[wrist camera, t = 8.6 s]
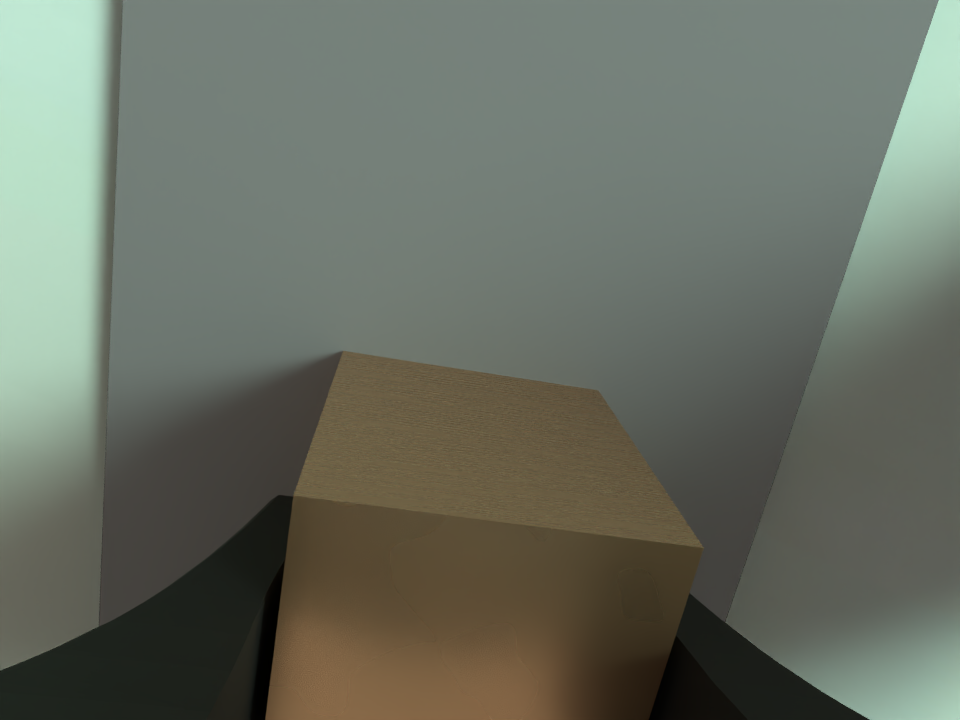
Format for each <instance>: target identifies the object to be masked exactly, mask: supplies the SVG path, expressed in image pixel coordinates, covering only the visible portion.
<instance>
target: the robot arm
mask: <svg viewBox="0 0 960 720" xmlns="http://www.w3.org/2000/svg"><path fill="white" fill-rule="evenodd" d="M292 503H293V497H292V496H285V495H278V496H276V497H275V498H273V499H272V500H270V501H269V502H268V503H267V504H266V505H265V506H264V507H263V508H262V509H261V510H260V511H259V512H258V513H257V514H256V515H255V516H254V517H253V518H252V519H251V520H250V521H249V522H248V523H247V524H246V525H244V526H243V527H242V528H241V529H240V530H239V531H238V532H237V533H236V534H234V535H233V536H232V537H231V538H230V539H228V540H227V541H226V542H225V543H224V544H223V545H221V546H220V547H219V548H218V549H217V550H215V551H214V552H213V553H212V554H211V555H209V556H208V557H207V558H206V559H204V560H203V561H202V562H200V563H199V564H198V565H196V566H195V567H194V568H192V569H191V570H190V571H188V572H187V573H185V574H184V575H183V576H181V577H180V578H179V579H177V580H176V581H175V582H173V583H172V584H171V585H169V586H168V587H166V588H165V589H163V590H162V591H160V592H159V593H157V594H156V595H154V596H153V597H151V598H150V599H148V600H146V601H145V602H143V603H141V604H140V605H138V606H136V607H135V608H133V609H131V610H130V611H128V612H126V613H124V614H123V615H121V616H119V617H117V618H115V619H114V620H112V621H110V622H108V623H106V624H103V625H101V626H99V627H97V628H95V629H93V630H91V631H89V632H87V633H85V634H83V635H81V636H79V637H77V638H75V639H73V640H71V641H69V642H67V643H65V644H63V645H61V646H59V647H57V648H54V649H52V650H50V651H48V652H45V653H43V654H40V655H38V656H36V657H33V658H31V659H28V660H26V661H24V662H21V663H19V664H16V665H14V666H11V667H9V668H6V669H3V670H1V671H0V720H265V718H266V710H267V702H268V694H269V686H270V678H271V670H272V662H273V654H274V646H275V638H276V630H277V622H278V614H279V606H280V598H281V590H282V582H283V574H284V566H285V558H286V551H287V543H288V535H289V527H290V519H291V511H292ZM649 720H869V719H867V718H866V717H864V716H862V715H860V714H859V713H857V712H855V711H853V710H852V709H850V708H848V707H846V706H845V705H843V704H841V703H839V702H838V701H836V700H835V699H833V698H831V697H830V696H828V695H826V694H825V693H823V692H821V691H820V690H818V689H817V688H815V687H814V686H812V685H811V684H809V683H808V682H806V681H805V680H803V679H802V678H800V677H799V676H797V675H796V674H794V673H793V672H791V671H790V670H788V669H787V668H785V667H784V666H782V665H781V664H779V663H778V662H776V661H775V660H774V659H772V658H771V657H769V656H768V655H767V654H765V653H764V652H762V651H761V650H760V649H758V648H757V647H756V646H754V645H753V644H752V643H751V642H749V641H748V640H747V639H745V638H744V637H743V636H742V635H740V634H739V633H738V632H736V631H735V630H734V629H732V628H731V627H730V626H729V625H727V624H726V623H725V622H724V621H722V620H721V619H720V618H719V617H718V616H716V615H715V614H714V613H713V612H711V611H710V610H709V609H708V608H707V607H705V606H704V605H703V604H702V603H701V602H700V601H698V600H697V599H696V598H695V597H694V596H693V595H691V594H690V593H689V596H688V599H687V602H686V605H685V608H684V611H683V614H682V618H681V621H680V624H679V627H678V630H677V633H676V636H675V639H674V642H673V645H672V649H671V652H670V655H669V658H668V661H667V664H666V667H665V670H664V673H663V677H662V680H661V683H660V686H659V689H658V692H657V695H656V698H655V701H654V705H653V708H652V711H651V714H650V717H649Z"/></svg>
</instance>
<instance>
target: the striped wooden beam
mask: <svg viewBox="0 0 960 720" xmlns="http://www.w3.org/2000/svg"><path fill="white" fill-rule="evenodd" d="M703 549H704V547H703V546H702V544H701V543H700V541H699V540H698V538H697V537H696V535H695V534H694V532H693V531H692V529H691V528H690V526H689V525H688V523H687V522H686V520H685V519H684V517H683V516H682V514H681V513H680V512H679V510H678V509H677V507H676V506H675V504H674V503H673V501H672V500H671V498H670V497H669V495H668V494H667V492H666V491H665V489H664V488H663V486H662V485H661V483H660V482H659V480H658V479H657V477H656V476H655V474H654V473H653V471H652V470H651V468H650V467H649V465H648V464H647V462H646V461H645V459H644V458H643V456H642V455H641V453H640V452H639V450H638V449H637V447H636V446H635V444H634V443H633V441H632V440H631V438H630V437H629V435H628V434H627V432H626V431H625V429H624V428H623V426H622V425H621V423H620V422H619V420H618V419H617V417H616V416H615V414H614V413H613V411H612V410H611V408H610V407H609V405H608V404H607V402H606V401H605V399H604V398H603V396H602V395H601V393H600V392H599V390H593V389H586V388H580V387H573V386H567V385H560V384H554V383H548V382H541V381H535V380H528V379H522V378H515V377H509V376H502V375H496V374H489V373H483V372H477V371H470V370H464V369H457V368H451V367H444V366H438V365H431V364H425V363H418V362H412V361H406V360H399V359H393V358H386V357H380V356H373V355H367V354H360V353H354V352H347V351H343V352H342V355H341V358H340V361H339V364H338V367H337V370H336V373H335V376H334V379H333V382H332V384H331V387H330V390H329V393H328V396H327V399H326V402H325V405H324V408H323V411H322V414H321V417H320V419H319V422H318V425H317V428H316V431H315V434H314V437H313V440H312V443H311V446H310V449H309V452H308V454H307V457H306V460H305V463H304V466H303V469H302V472H301V475H300V478H299V481H298V484H297V487H296V489H295V492H294V495H293V503H292V511H291V519H290V527H289V535H288V543H287V551H286V558H285V566H284V574H283V582H282V590H281V598H280V606H279V614H278V622H277V630H276V638H275V646H274V654H273V662H272V670H271V678H270V686H269V694H268V702H267V710H266V718H265V720H649V717H650V714H651V711H652V708H653V705H654V701H655V698H656V695H657V692H658V689H659V686H660V683H661V680H662V677H663V673H664V670H665V667H666V664H667V661H668V658H669V655H670V652H671V649H672V645H673V642H674V639H675V636H676V633H677V630H678V627H679V624H680V621H681V618H682V614H683V611H684V608H685V605H686V602H687V599H688V596H689V593H690V590H691V586H692V583H693V580H694V577H695V574H696V571H697V568H698V565H699V562H700V558H701V555H702V552H703Z"/></svg>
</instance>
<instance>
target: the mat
mask: <svg viewBox="0 0 960 720" xmlns="http://www.w3.org/2000/svg"><path fill="white" fill-rule="evenodd" d="M937 3H938V0H123V9H122V35H121V61H120V87H119V113H118V140H117V166H116V192H115V218H114V244H113V271H112V297H111V323H110V349H109V375H108V402H107V428H106V454H105V480H104V507H103V533H102V559H101V585H100V611H99V626H101V625H103V624H106V623H108V622H110V621H112V620H114V619H115V618H117V617H119V616H121V615H123V614H124V613H126V612H128V611H130V610H131V609H133V608H135V607H136V606H138V605H140V604H141V603H143V602H145V601H146V600H148V599H150V598H151V597H153V596H154V595H156V594H157V593H159V592H160V591H162V590H163V589H165V588H166V587H168V586H169V585H171V584H172V583H173V582H175V581H176V580H177V579H179V578H180V577H181V576H183V575H184V574H185V573H187V572H188V571H190V570H191V569H192V568H194V567H195V566H196V565H198V564H199V563H200V562H202V561H203V560H204V559H206V558H207V557H208V556H209V555H211V554H212V553H213V552H214V551H215V550H217V549H218V548H219V547H220V546H221V545H223V544H224V543H225V542H226V541H227V540H228V539H230V538H231V537H232V536H233V535H234V534H236V533H237V532H238V531H239V530H240V529H241V528H242V527H243V526H244V525H246V524H247V523H248V522H249V521H250V520H251V519H252V518H253V517H254V516H255V515H256V514H257V513H258V512H259V511H260V510H261V509H262V508H263V507H264V506H265V505H266V504H267V503H268V502H269V501H270V500H272V499H273V498H275V497H276V496H278V495H285V496H292V497H293V495H294V492H295V489H296V487H297V484H298V481H299V478H300V475H301V472H302V469H303V466H304V463H305V460H306V457H307V454H308V452H309V449H310V446H311V443H312V440H313V437H314V434H315V431H316V428H317V425H318V422H319V419H320V417H321V414H322V411H323V408H324V405H325V402H326V399H327V396H328V393H329V390H330V387H331V384H332V382H333V379H334V376H335V373H336V370H337V367H338V364H339V361H340V358H341V355H342V352H343V351H347V352H354V353H360V354H367V355H373V356H380V357H386V358H393V359H399V360H406V361H412V362H418V363H425V364H431V365H438V366H444V367H451V368H457V369H464V370H470V371H477V372H483V373H489V374H496V375H502V376H509V377H515V378H522V379H528V380H535V381H541V382H548V383H554V384H560V385H567V386H573V387H580V388H586V389H593V390H599V392H600V393H601V395H602V396H603V398H604V399H605V401H606V402H607V404H608V405H609V407H610V408H611V410H612V411H613V413H614V414H615V416H616V417H617V419H618V420H619V422H620V423H621V425H622V426H623V428H624V429H625V431H626V432H627V434H628V435H629V437H630V438H631V440H632V441H633V443H634V444H635V446H636V447H637V449H638V450H639V452H640V453H641V455H642V456H643V458H644V459H645V461H646V462H647V464H648V465H649V467H650V468H651V470H652V471H653V473H654V474H655V476H656V477H657V479H658V480H659V482H660V483H661V485H662V486H663V488H664V489H665V491H666V492H667V494H668V495H669V497H670V498H671V500H672V501H673V503H674V504H675V506H676V507H677V509H678V510H679V512H680V513H681V514H682V516H683V517H684V519H685V520H686V522H687V523H688V525H689V526H690V528H691V529H692V531H693V532H694V534H695V535H696V537H697V538H698V540H699V541H700V543H701V544H702V546H703V547H704V549H703V552H702V555H701V558H700V562H699V565H698V568H697V571H696V574H695V577H694V580H693V583H692V586H691V590H690V594H691V595H693V596H694V597H695V598H696V599H697V600H698V601H700V602H701V603H702V604H703V605H704V606H705V607H707V608H708V609H709V610H710V611H711V612H713V613H714V614H715V615H716V616H718V617H719V618H720V619H721V620H722V621H724V622H725V621H726V618H727V615H728V612H729V609H730V606H731V603H732V600H733V597H734V595H735V592H736V589H737V586H738V583H739V580H740V577H741V574H742V571H743V568H744V565H745V563H746V560H747V557H748V554H749V551H750V548H751V545H752V542H753V539H754V536H755V533H756V530H757V528H758V525H759V522H760V519H761V516H762V513H763V510H764V507H765V504H766V501H767V498H768V496H769V493H770V490H771V487H772V484H773V481H774V478H775V475H776V472H777V469H778V466H779V463H780V461H781V458H782V455H783V452H784V449H785V446H786V443H787V440H788V437H789V434H790V431H791V429H792V426H793V423H794V420H795V417H796V414H797V411H798V408H799V405H800V402H801V399H802V397H803V394H804V391H805V388H806V385H807V382H808V379H809V376H810V373H811V370H812V367H813V364H814V362H815V359H816V356H817V353H818V350H819V347H820V344H821V341H822V338H823V335H824V332H825V330H826V327H827V324H828V321H829V318H830V315H831V312H832V309H833V306H834V303H835V300H836V298H837V295H838V292H839V289H840V286H841V283H842V280H843V277H844V274H845V271H846V268H847V265H848V263H849V260H850V257H851V254H852V251H853V248H854V245H855V242H856V239H857V236H858V233H859V231H860V228H861V225H862V222H863V219H864V216H865V213H866V210H867V207H868V204H869V201H870V199H871V196H872V193H873V190H874V187H875V184H876V181H877V178H878V175H879V172H880V169H881V166H882V164H883V161H884V158H885V155H886V152H887V149H888V146H889V143H890V140H891V137H892V134H893V132H894V129H895V126H896V123H897V120H898V117H899V114H900V111H901V108H902V105H903V102H904V99H905V97H906V94H907V91H908V88H909V85H910V82H911V79H912V76H913V73H914V70H915V67H916V65H917V62H918V59H919V56H920V53H921V50H922V47H923V44H924V41H925V38H926V35H927V33H928V30H929V27H930V24H931V21H932V18H933V15H934V12H935V9H936V6H937Z"/></svg>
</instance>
